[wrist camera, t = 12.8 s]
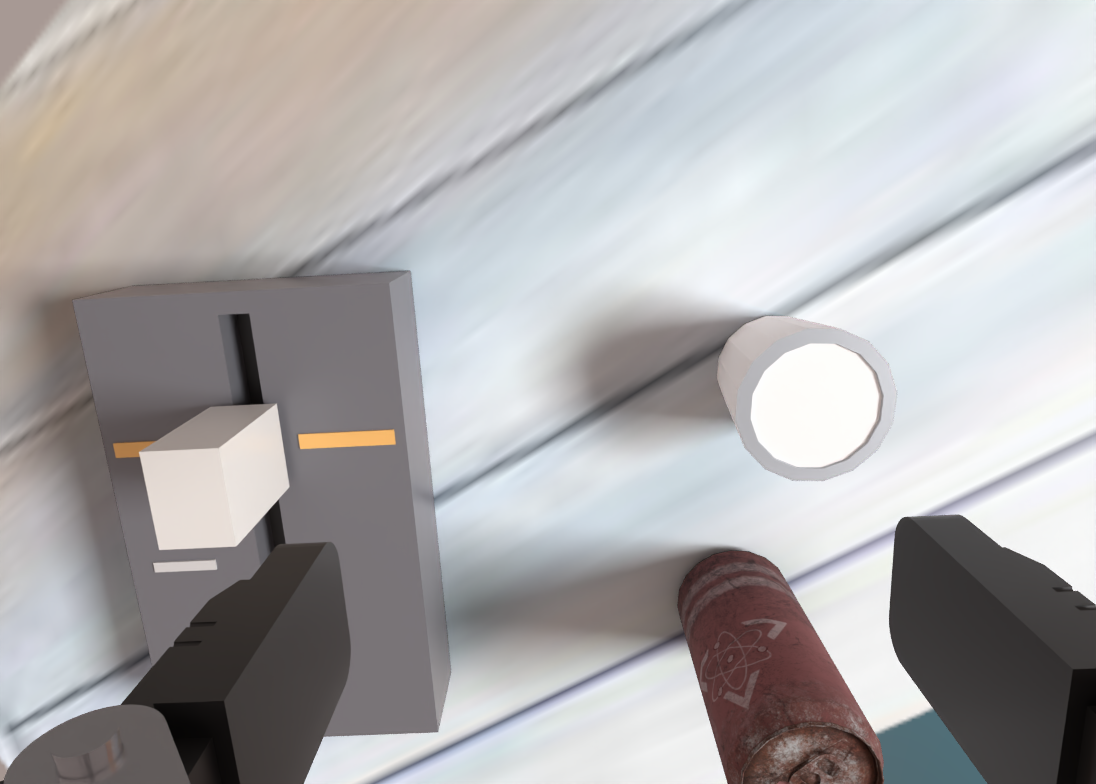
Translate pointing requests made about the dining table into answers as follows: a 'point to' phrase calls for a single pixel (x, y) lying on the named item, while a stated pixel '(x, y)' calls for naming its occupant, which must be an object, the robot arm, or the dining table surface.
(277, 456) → the fader knob
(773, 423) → the white cylinder
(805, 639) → the can
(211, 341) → the slider control panel
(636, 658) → the dining table surface
